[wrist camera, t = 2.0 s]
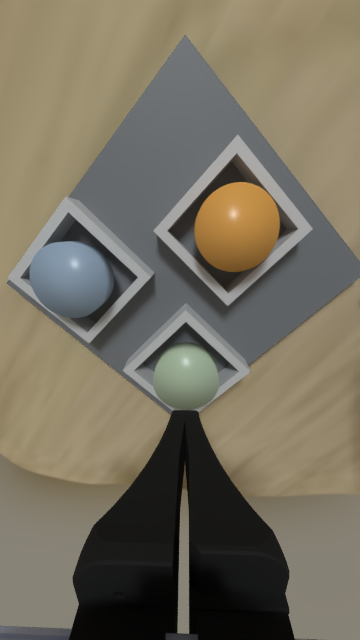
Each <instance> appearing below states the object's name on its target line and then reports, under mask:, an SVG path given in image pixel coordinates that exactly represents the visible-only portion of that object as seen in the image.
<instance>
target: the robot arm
mask: <svg viewBox="0 0 360 640" xmlns="http://www.w3.org/2000/svg"><path fill="white" fill-rule="evenodd" d="M184 465H186V478H187V491H188V504H189V634H179V633H177V621H178V619H177V618H178V617H177V616H178V571H179V527H180V525H179V524H180V504H181V495H182V485H183V475H184ZM288 580H289V569H288V565H287V562H286V560H285V557H284V554H283V552H282V549H281V547H280V545H279V543H278V541H277V539H276V536H275V534H274V533H273V531H272V529H271V528H270V527H269V526H268V525H267V524H266V523H265V522H264V521H263V520H262V519H261V517H259V515H258V514H257V513H256V512H255V511H254V510H253V509H252V507H251V506H250V505H249V504H248V502H247V501H246V500H245V498H244V497H243V496H242V495H241V493H240V492H239V491H238V489H237V488H236V487H235V485H234V484H233V483H232V481H231V480H230V478H229V477H228V475H227V474H226V472H225V470H224V469H223V467H222V466H221V464H220V462H219V461H218V459H217V457H216V455H215V453H214V451H213V450H212V447H211V445H210V443H209V441H208V439H207V437H206V435H205V432H204V430H203V427H202V424H201V421H200V418H199V413H198V411H196V410H173V411H172V413H171V417H170V420H169V423H168V425H167V428H166V430H165V432H164V434H163V436H162V438H161V440H160V442H159V444H158V446H157V448H156V449H155V451H154V453H153V455H152V456H151V458H150V460H149V461H148V463H147V464H146V466H145V467H144V469H143V470H142V472H141V473H140V474H139V476H138V477H137V478H136V480H135V481H134V482H133V484H132V485H131V486H130V487H129V489H128V490H127V491H126V492H125V493H124V494H123V495H122V497H121V498H120V499H119V500H118V501H117V502H116V503H115V505H114V506H113V507H112V508H111V509H110V510H109V511H108V512H107V513H106V514H105V515H104V516H103V517H102V518H101V519H100V520H99V521H98V522H97V523H96V524H95V525H94V526H93V528H92V530H91V532H90V534H89V536H88V538H87V540H86V542H85V544H84V547H83V549H82V551H81V554H80V557H79V560H78V563H77V566H76V569H75V572H74V575H73V584H74V588H75V592H76V595H77V599H78V602H79V606H78V610H77V613H76V616H75V620H74V623H73V627H72V629H63V628H40V627H17V626H0V640H316V639H294V635H293V631H292V627H291V623H290V620H289V616H288V614H289V606H288V603H287V599H286V595H285V592H286V588H287V584H288Z"/></svg>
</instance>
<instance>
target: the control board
mask: <svg viewBox="0 0 360 640" xmlns="http://www.w3.org/2000/svg"><path fill="white" fill-rule="evenodd" d="M235 182H247V183H252V184H254V185H257V186H259V187H261V188H262V189H264V190H265V191H266V192H267V193H268V194H269V195H270V196H271V197H272V199H273V200H274V202H275V204H276V206H277V209H278V212H279V217H280V229H279V235H278V238H277V241H276V243H275V246H274V248H273V249H272V251H271V252H270V254H269V255H268V256H267V257H266V258H265V259H264V260H263V261H262V262H261V263H259V264H258V265H256V266H255V267H253V268H251V269H248V270H245V271H241V272H227V271H223V270H220V269H218V268H216V267H214V266H212V265H211V264H210V263H209V262H208V261H206V259H205V258H204V257H203V256H202V254H201V253H200V251H199V249H198V247H197V244H196V241H195V236H194V225H195V220H196V217H197V214H198V212H199V210H200V208H201V206H202V205H203V203H204V201H205V200H206V199H207V198H208V197H209V196H210V195H211V194H212V193H213V192H214V191H216V190H217V189H219V188H220V187H222V186H224V185H227V184H230V183H235ZM66 241H81V242H85V243H88V244H90V245H92V246H94V247H95V248H97V249H98V250H99V251H101V252H102V253H103V254H104V255H105V257H106V258H107V259H108V261H109V263H110V265H111V267H112V270H113V274H114V287H113V291H112V293H111V295H110V297H109V298H108V300H107V301H106V302H105V303H104V304H103V305H101V306H100V307H99V308H98V309H97V310H95V311H94V312H93V313H91V314H89V315H87V316H84V317H80V318H68V317H63V316H60V315H58V314H55V313H54V312H52V311H50V310H49V309H48V308H46V307H45V306H44V305H43V304H42V303H41V302H40V301H39V299H38V298H37V296H36V295H35V293H34V291H33V289H32V286H31V282H30V266H31V262H32V260H33V258H34V256H35V254H36V253H37V252H38V251H39V250H40V249H41V248H43V247H44V246H46V245H48V244H51V243H55V242H66ZM359 277H360V261H359V260H358V259H357V257H356V256H355V255H354V254H353V252H352V251H351V250H350V248H349V247H348V246H347V244H346V243H345V242H344V240H343V239H342V238H341V237H340V235H339V234H338V233H337V231H336V230H335V229H334V227H333V226H332V225H331V224H330V222H329V221H328V220H327V218H326V217H325V216H324V214H323V213H322V212H321V211H320V209H319V208H318V207H317V205H316V204H315V203H314V201H313V200H312V199H311V198H310V196H309V195H308V194H307V192H306V191H305V190H304V188H303V187H302V186H301V185H300V183H299V182H298V181H297V179H296V178H295V177H294V175H293V174H292V173H291V172H290V170H289V169H288V168H287V166H286V165H285V164H284V162H283V161H282V160H281V159H280V157H279V156H278V155H277V153H276V152H275V151H274V149H273V148H272V147H271V146H270V144H269V143H268V142H267V140H266V139H265V138H264V136H263V135H262V134H261V133H260V131H259V130H258V129H257V127H256V126H255V125H254V123H253V122H252V121H251V120H250V118H249V117H248V116H247V114H246V113H245V112H244V110H243V109H242V108H241V107H240V105H239V104H238V103H237V101H236V100H235V99H234V97H233V96H232V95H231V94H230V92H229V91H228V90H227V88H226V87H225V86H224V84H223V83H222V82H221V81H220V79H219V78H218V77H217V75H216V74H215V73H214V71H213V70H212V69H211V68H210V66H209V65H208V64H207V62H206V61H205V60H204V58H203V57H202V56H201V55H200V53H199V52H198V51H197V49H196V48H195V47H194V45H193V44H192V43H191V42H190V40H189V39H188V38H187V36H186V35H184V37H183V38H182V40H181V41H180V42H179V44H178V45H177V47H176V48H175V49H174V51H173V52H172V54H171V55H170V56H169V58H168V59H167V61H166V62H165V63H164V65H163V66H162V67H161V69H160V70H159V72H158V73H157V74H156V76H155V77H154V79H153V80H152V81H151V83H150V84H149V86H148V87H147V88H146V90H145V91H144V93H143V94H142V95H141V97H140V98H139V100H138V101H137V102H136V104H135V105H134V107H133V108H132V109H131V111H130V112H129V113H128V115H127V116H126V118H125V119H124V120H123V122H122V123H121V125H120V126H119V127H118V129H117V130H116V132H115V133H114V134H113V136H112V137H111V139H110V140H109V141H108V143H107V144H106V146H105V147H104V148H103V150H102V151H101V152H100V154H99V155H98V157H97V158H96V159H95V161H94V162H93V164H92V165H91V166H90V168H89V169H88V171H87V172H86V173H85V175H84V176H83V178H82V179H81V180H80V182H79V183H78V185H77V186H76V187H75V189H74V190H73V192H72V193H71V194H70V196H69V197H65V198H64V200H63V201H62V202H61V204H60V205H59V207H58V208H57V209H56V211H55V212H54V214H53V215H52V216H51V218H50V219H49V221H48V222H47V223H46V225H45V226H44V228H43V229H42V230H41V232H40V233H39V235H38V236H37V237H36V239H35V240H34V242H33V243H32V244H31V246H30V247H29V249H28V250H27V251H26V253H25V254H24V256H23V257H22V258H21V260H20V261H19V263H18V264H17V265H16V267H15V268H14V270H13V271H12V272H11V274H10V275H9V277H8V279H9V281H8V282H7V284H8V285H9V286H11V287H12V288H13V289H14V290H16V291H17V292H18V293H19V294H21V295H22V296H23V297H24V298H26V299H27V300H28V301H29V302H31V303H32V304H33V305H34V306H36V307H37V308H38V309H39V310H41V311H42V312H43V313H44V314H46V315H47V316H48V317H49V318H51V319H52V320H53V321H54V322H56V323H57V324H58V325H59V326H61V327H62V328H63V329H64V330H66V331H67V332H68V333H69V334H71V335H72V336H73V337H75V338H76V339H77V340H78V341H80V342H81V343H82V344H83V345H85V346H86V347H87V348H88V349H90V350H91V351H92V352H93V353H95V354H96V355H97V356H98V357H100V358H101V359H102V360H103V361H105V362H106V363H107V364H108V365H110V366H111V367H112V368H113V369H115V370H116V371H117V372H118V373H120V374H121V375H122V376H123V377H125V378H126V379H127V380H128V381H130V382H131V383H132V384H133V385H135V386H136V387H137V388H138V389H140V390H141V391H142V392H143V393H145V394H146V395H147V396H148V397H150V398H151V399H152V400H153V401H155V402H156V403H157V404H158V405H160V406H161V407H162V408H163V409H165V410H166V411H167V412H168V413H170V414H171V413H172V411H173V410H182V409H177V408H173V407H171V406H169V405H167V404H165V403H164V402H163V401H162V400H161V399H160V398H159V397H158V396H157V394H156V392H155V390H154V387H153V375H154V371H155V367H156V363H157V360H158V358H159V356H160V354H161V353H162V352H163V351H164V350H165V349H166V348H168V347H169V346H171V345H174V344H177V343H182V342H190V343H195V344H198V345H200V346H202V347H204V348H206V349H207V350H208V351H209V352H210V353H211V354H212V356H213V357H214V359H215V362H216V366H217V371H218V376H219V388H218V391H217V393H216V395H215V396H214V398H213V399H212V400H211V401H210V402H209V403H207V404H206V405H204V406H202V407H199V408H196V409H191V410H196V411H198V412H200V411H201V410H202V409H203V408H205V407H206V406H207V405H209V404H210V403H211V402H212V401H214V400H215V399H216V398H217V397H219V396H220V395H221V394H223V393H224V392H225V391H226V390H228V389H229V388H230V387H232V386H233V385H234V384H235V383H237V382H238V381H239V380H241V379H242V378H243V377H244V376H246V375H247V374H248V373H249V372H251V371H250V369H249V367H248V365H250V364H251V363H252V362H253V361H255V360H256V359H257V358H258V357H260V356H261V355H262V354H263V353H265V352H266V351H267V350H269V349H270V348H271V347H272V346H274V345H275V344H276V343H277V342H279V341H280V340H281V339H282V338H284V337H285V336H286V335H287V334H289V333H290V332H291V331H293V330H294V329H295V328H296V327H298V326H299V325H300V324H301V323H303V322H304V321H305V320H306V319H308V318H309V317H310V316H311V315H313V314H314V313H315V312H316V311H318V310H319V309H320V308H322V307H323V306H324V305H325V304H327V303H328V302H329V301H330V300H332V299H333V298H334V297H335V296H337V295H338V294H339V293H340V292H342V291H343V290H344V289H346V288H347V287H348V286H349V285H351V284H352V283H353V282H354V281H356V280H357V279H358V278H359Z"/></svg>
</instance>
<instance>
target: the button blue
mask: <svg viewBox="0 0 360 640" xmlns="http://www.w3.org/2000/svg"><path fill="white" fill-rule="evenodd" d="M30 282H31V286H32V289H33V291H34V293H35V295H36V296H37V298H38V299H39V301H40V302H41V303H42V304H43V305H44V306H45V307H46V308H48V309H49V310H50V311H52V312H54V313H55V314H58V315H60V316H63V317H68V318H80V317H84V316H87V315H89V314H91V313H93V312H94V311H95V310H97V309H98V308H99V307H100V306H101V305H103V304H104V303H105V302H106V301H107V300H108V298H109V297H110V295H111V293H112V291H113V287H114V274H113V270H112V267H111V265H110V263H109V261H108V259H107V258H106V257H105V255H104V254H103V253H102V252H101V251H99V250H98V249H97V248H95V247H94V246H92V245H90V244H88V243H85V242H81V241H66V242H55V243H51V244H48V245H46V246H44V247H43V248H41V249H40V250H39V251H38V252H37V253H36V254H35V256H34V258H33V260H32V262H31V266H30Z"/></svg>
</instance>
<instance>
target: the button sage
mask: <svg viewBox="0 0 360 640" xmlns="http://www.w3.org/2000/svg"><path fill="white" fill-rule="evenodd" d="M153 387H154V390H155V392H156V394H157V396H158V397H159V398H160V399H161V400H162V401H163V402H164V403H165V404H167V405H169V406H171V407H173V408H177V409H182V410H191V409H196V408H199V407H202V406H204V405H206V404H207V403H209V402H210V401H211V400H212V399H213V398H214V396H215V395H216V393H217V391H218V388H219V376H218V371H217V366H216V362H215V359H214V357H213V356H212V354H211V353H210V352H209V351H208V350H207V349H206V348H204V347H202V346H200V345H198V344H195V343H190V342H182V343H177V344H174V345H171V346H169V347H168V348H166V349H165V350H164V351H163V352H162V353H161V354H160V356H159V358H158V360H157V363H156V367H155V371H154V375H153Z"/></svg>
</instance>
